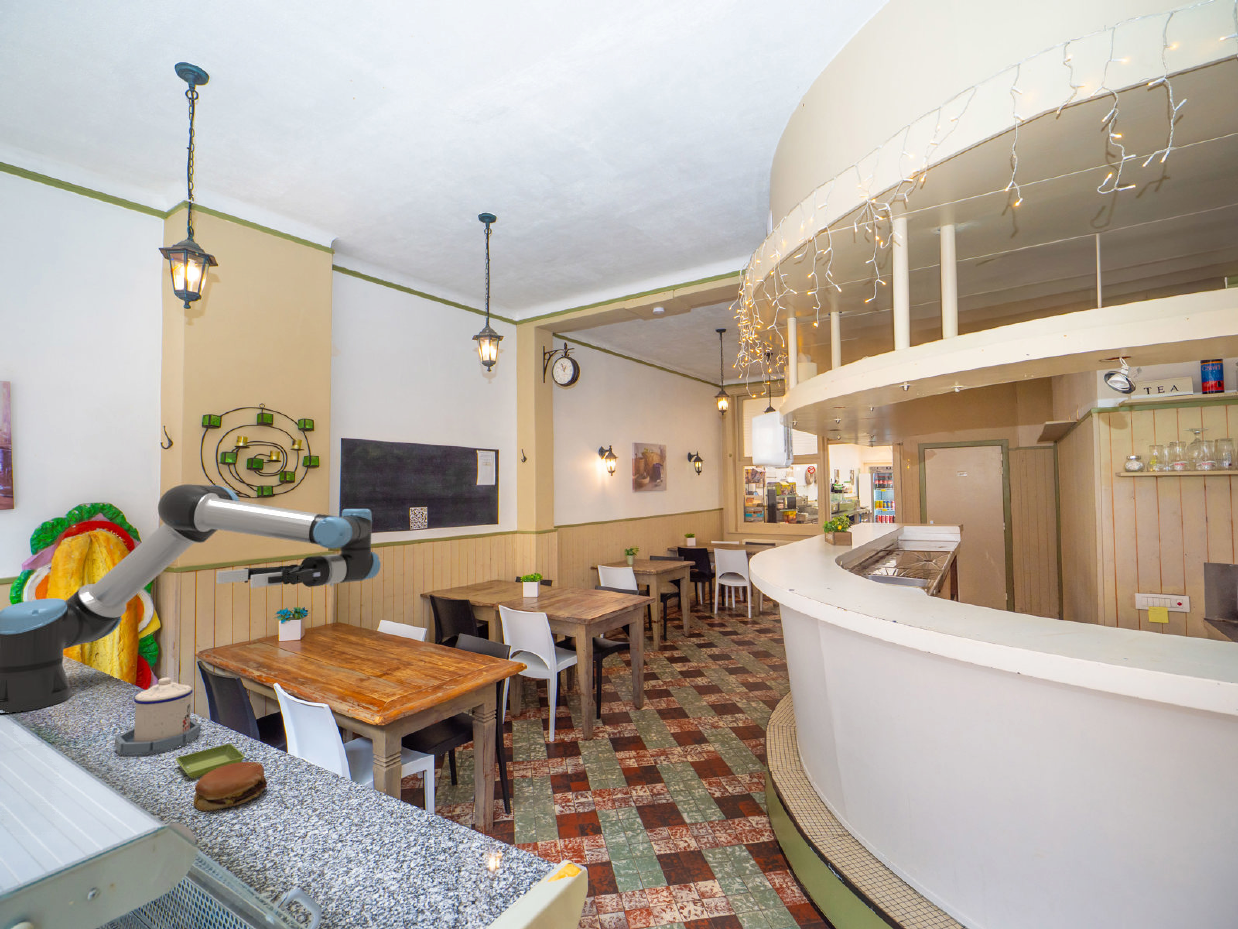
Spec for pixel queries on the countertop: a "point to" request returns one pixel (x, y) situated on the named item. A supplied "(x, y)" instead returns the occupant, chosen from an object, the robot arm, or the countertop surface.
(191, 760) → the green shallow square dish
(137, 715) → the teacup with lid
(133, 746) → the ashtray
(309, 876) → the countertop surface
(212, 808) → the burger
